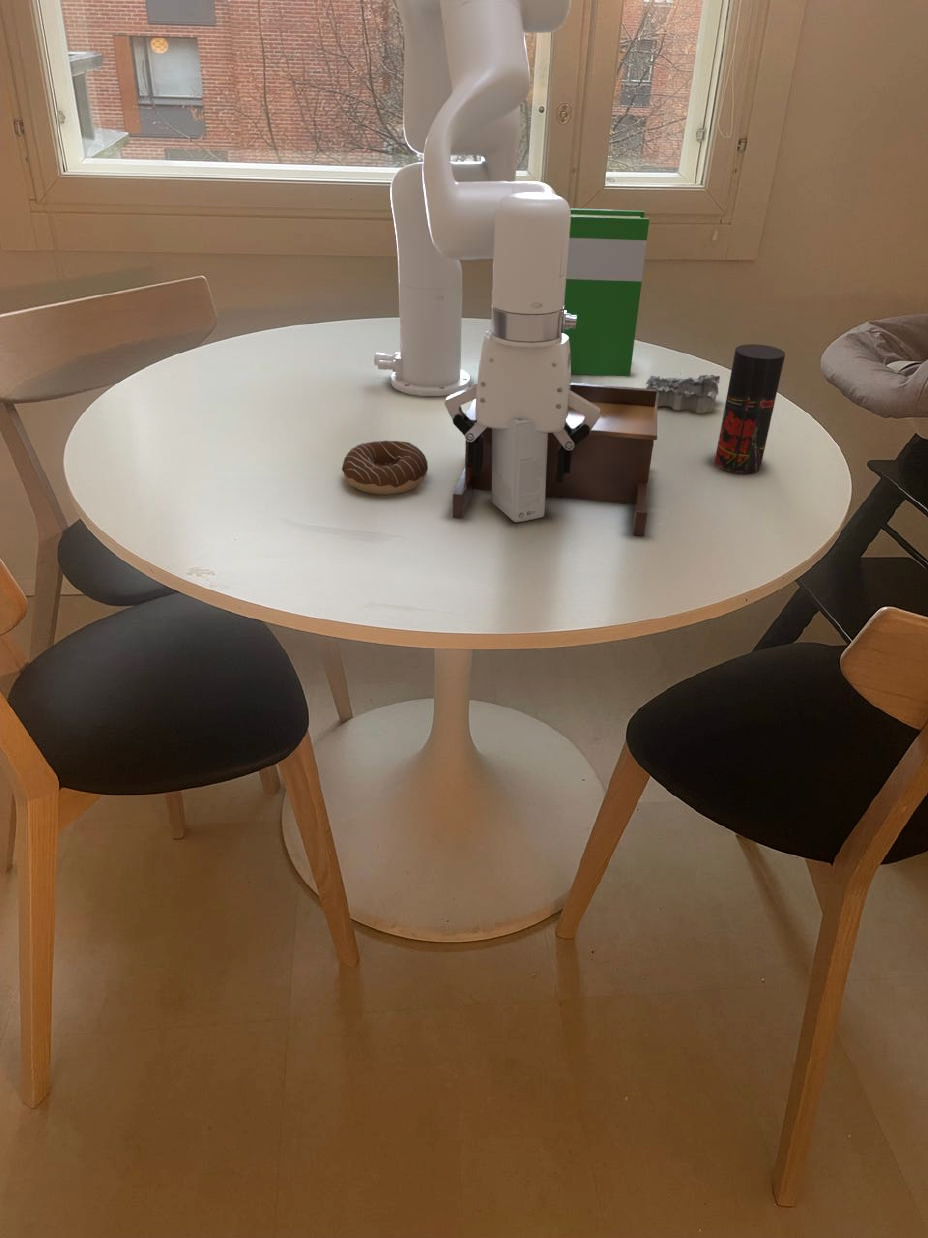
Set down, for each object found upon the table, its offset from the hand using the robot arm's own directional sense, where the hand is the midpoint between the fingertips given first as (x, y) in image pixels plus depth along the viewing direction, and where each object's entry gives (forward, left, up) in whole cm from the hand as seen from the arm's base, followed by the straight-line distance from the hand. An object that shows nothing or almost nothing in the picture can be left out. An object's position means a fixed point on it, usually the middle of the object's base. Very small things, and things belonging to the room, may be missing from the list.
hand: (518, 474), depth 104 cm
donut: (-17, +5, -5) cm, 18 cm away
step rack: (+4, +6, -5) cm, 8 cm away
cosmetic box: (0, 0, -5) cm, 5 cm away
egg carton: (+20, +42, -5) cm, 46 cm away
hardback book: (+3, +56, -5) cm, 56 cm away
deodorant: (+27, +20, -5) cm, 34 cm away
